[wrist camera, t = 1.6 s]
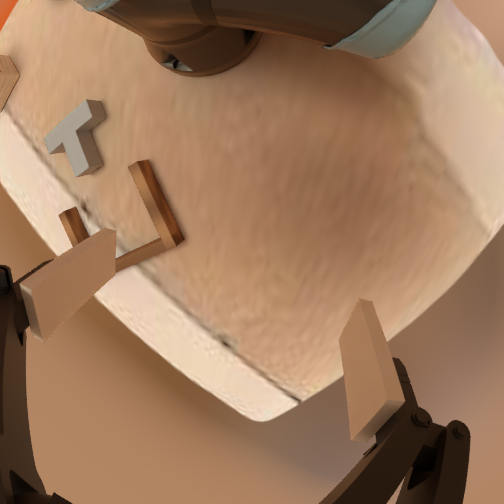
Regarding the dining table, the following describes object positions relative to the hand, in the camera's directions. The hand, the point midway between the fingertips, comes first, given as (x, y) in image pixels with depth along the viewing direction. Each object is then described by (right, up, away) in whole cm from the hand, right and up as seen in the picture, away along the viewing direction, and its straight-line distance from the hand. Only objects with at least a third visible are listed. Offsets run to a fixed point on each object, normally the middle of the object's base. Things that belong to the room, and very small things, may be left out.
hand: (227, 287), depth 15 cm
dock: (-18, +6, +25) cm, 32 cm away
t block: (-23, +18, +22) cm, 36 cm away
